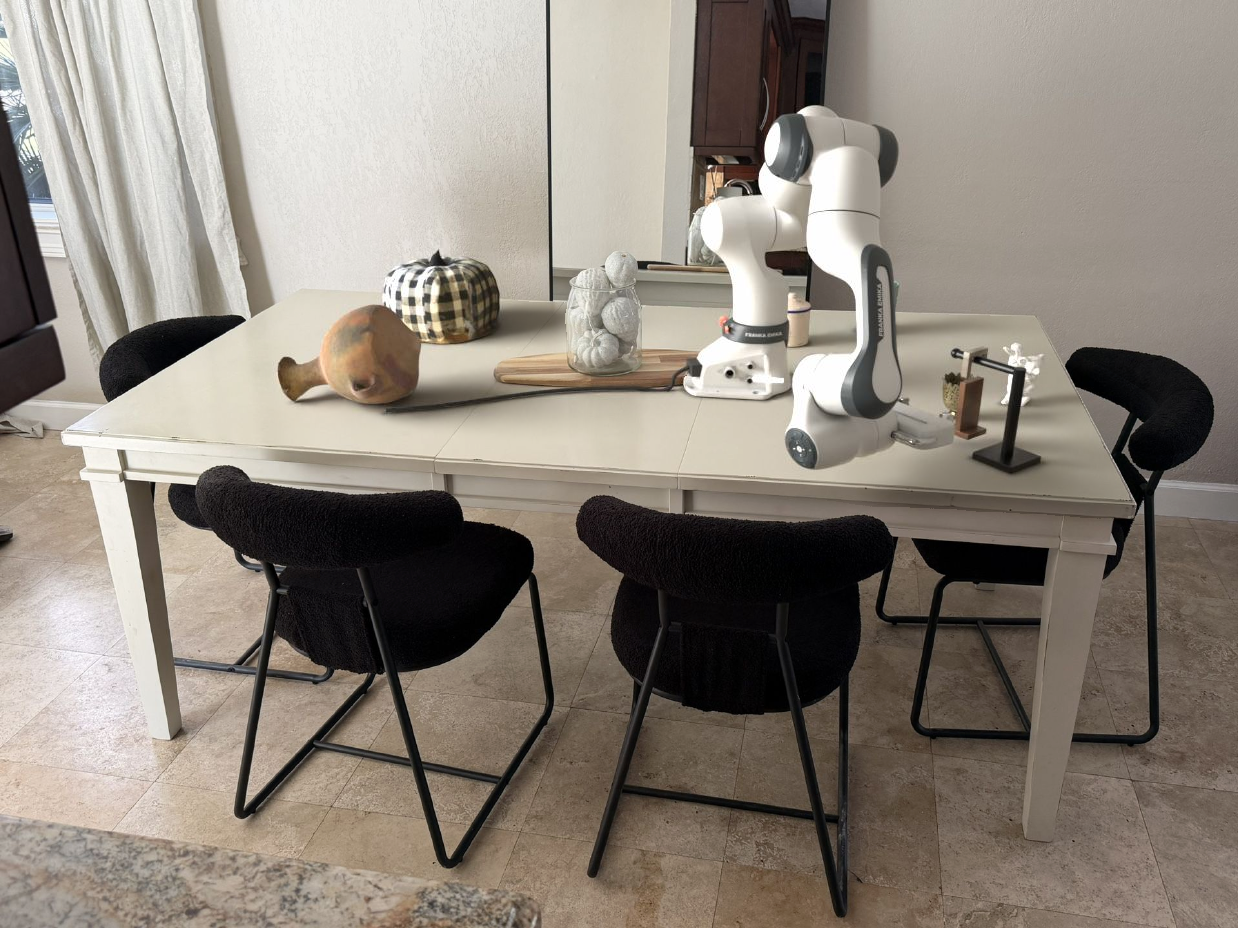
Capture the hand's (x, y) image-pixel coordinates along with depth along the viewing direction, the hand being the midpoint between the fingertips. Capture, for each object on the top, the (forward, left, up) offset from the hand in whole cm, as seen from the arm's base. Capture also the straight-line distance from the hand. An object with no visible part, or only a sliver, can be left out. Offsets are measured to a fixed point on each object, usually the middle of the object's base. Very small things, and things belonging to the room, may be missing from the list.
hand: (927, 409), depth 172 cm
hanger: (+9, +6, -7) cm, 13 cm away
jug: (-107, +33, -9) cm, 112 cm away
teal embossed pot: (+9, +77, -9) cm, 78 cm away
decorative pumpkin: (-97, +84, -9) cm, 129 cm away
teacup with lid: (-14, +69, -9) cm, 71 cm away
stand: (+11, +3, -9) cm, 15 cm away
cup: (+12, +19, -9) cm, 25 cm away
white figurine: (+26, +27, -9) cm, 39 cm away
